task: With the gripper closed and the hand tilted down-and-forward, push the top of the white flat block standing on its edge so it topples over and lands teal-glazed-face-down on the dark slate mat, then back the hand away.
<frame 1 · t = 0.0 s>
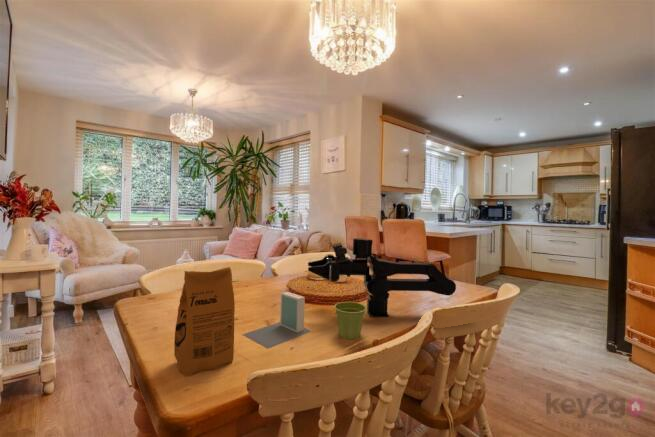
hand: (308, 266, 105), 17 cm above the table, tool horizontal, fingers open, 9 cm apart
plant pot: (349, 336, 88), on the table
white flat block: (291, 327, 92), resting on mat
mat: (277, 334, 88), on the table
coffee package: (204, 363, 71), on the table
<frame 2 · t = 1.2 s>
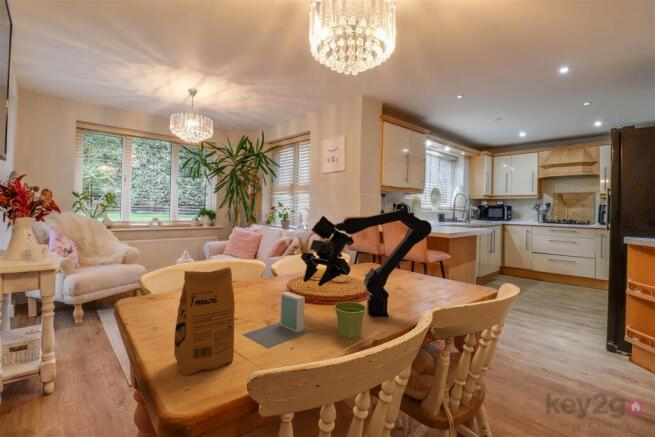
hand: (311, 283, 97), 13 cm above the table, tool tilted 45°, fingers open, 6 cm apart
nothing on the table moved.
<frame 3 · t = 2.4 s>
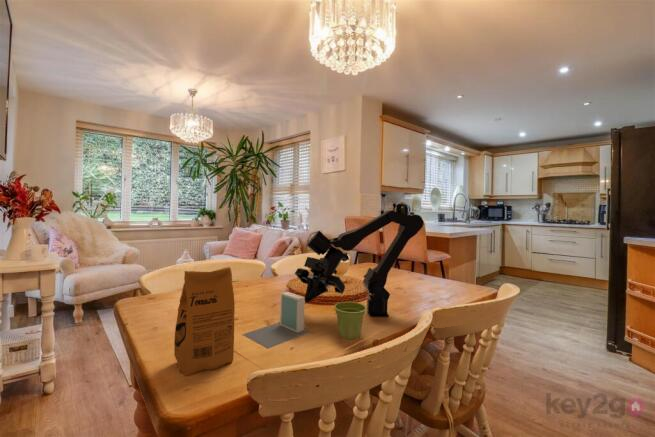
hand: (305, 301, 96), 7 cm above the table, tool tilted 45°, fingers closed
nothing on the table moved.
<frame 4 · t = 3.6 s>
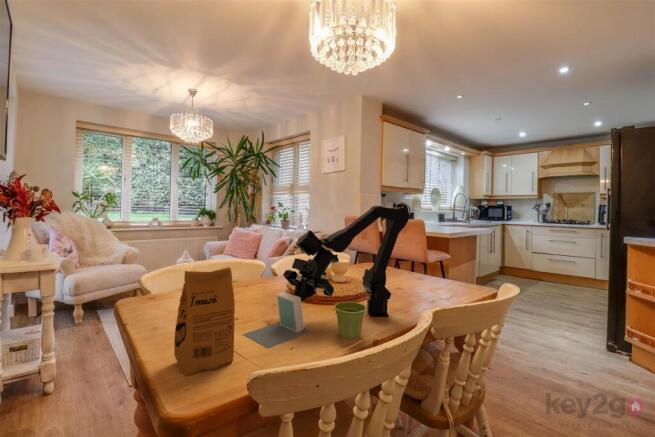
hand: (292, 304, 92), 7 cm above the table, tool tilted 45°, fingers closed
white flat block: (291, 326, 92), point 1 cm above the table, tilted 10°, touching mat
everything else where it was.
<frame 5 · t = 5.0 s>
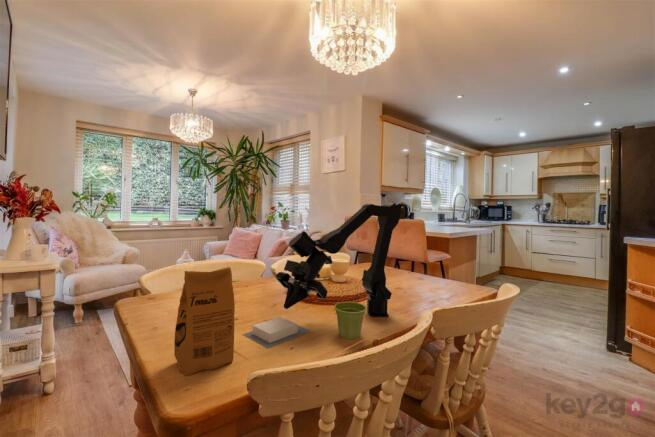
hand: (285, 308, 89), 7 cm above the table, tool tilted 45°, fingers closed
white flat block: (288, 324, 91), point 2 cm above the table, tilted 90°, touching mat
everything else where it was.
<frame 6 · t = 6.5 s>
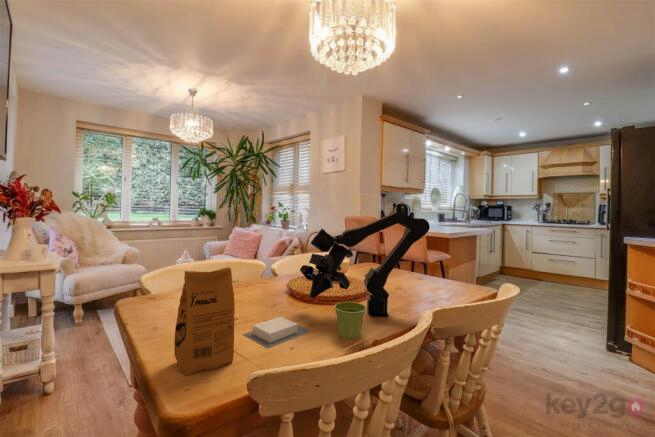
hand: (311, 297, 97), 8 cm above the table, tool tilted 45°, fingers closed
nothing on the table moved.
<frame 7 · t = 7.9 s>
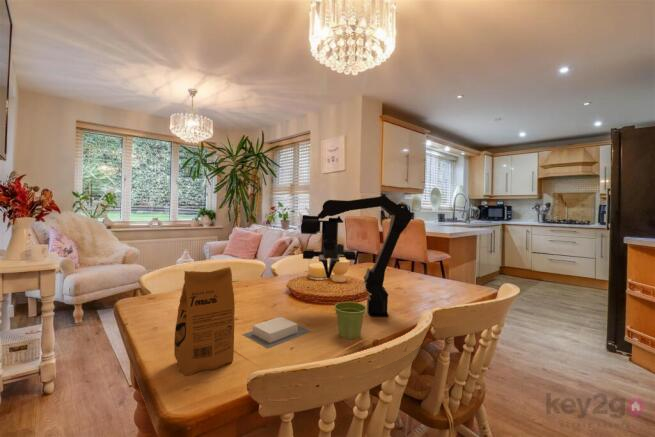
hand: (328, 278, 108), 12 cm above the table, tool pointing down, fingers closed
nothing on the table moved.
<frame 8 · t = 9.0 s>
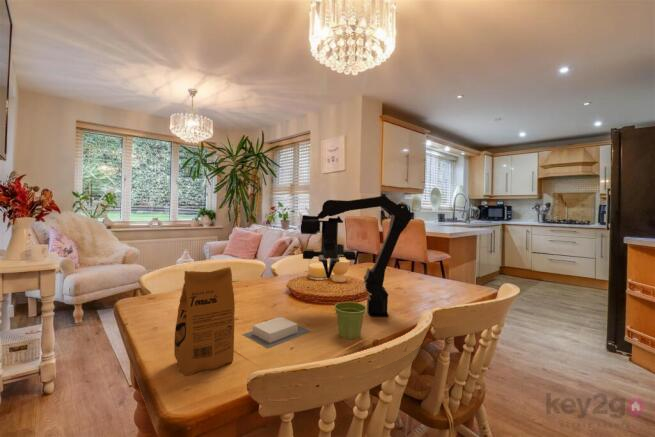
hand: (328, 278, 108), 12 cm above the table, tool pointing down, fingers closed
nothing on the table moved.
at the end: white flat block tilted 90°; white flat block 4.2 cm from the mat (horizontally); white flat block point 1.7 cm above the table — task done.
